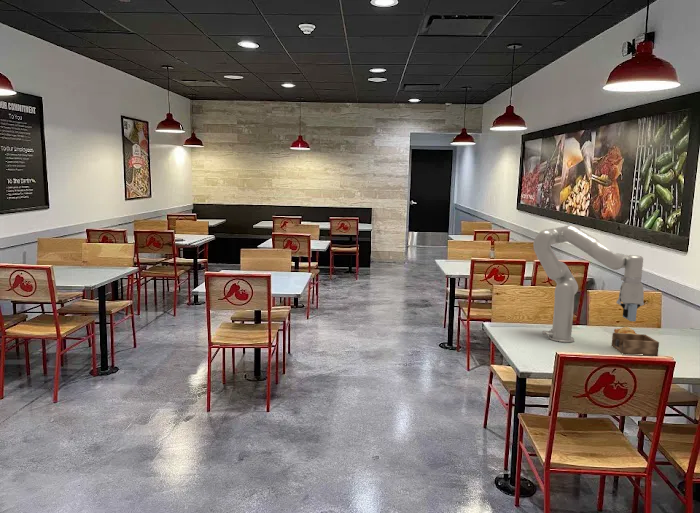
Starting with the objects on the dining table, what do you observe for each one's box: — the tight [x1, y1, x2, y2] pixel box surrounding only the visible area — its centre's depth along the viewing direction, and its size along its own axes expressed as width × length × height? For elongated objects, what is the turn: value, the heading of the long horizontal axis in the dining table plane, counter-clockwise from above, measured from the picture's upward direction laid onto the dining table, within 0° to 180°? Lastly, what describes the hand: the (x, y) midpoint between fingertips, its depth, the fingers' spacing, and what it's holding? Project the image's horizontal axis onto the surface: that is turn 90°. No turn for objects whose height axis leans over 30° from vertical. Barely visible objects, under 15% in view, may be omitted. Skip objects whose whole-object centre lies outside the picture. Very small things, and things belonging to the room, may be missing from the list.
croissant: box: [613, 326, 637, 334], centre depth 280 cm, size 21×10×8 cm, turn 5°
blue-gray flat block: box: [622, 304, 638, 322], centre depth 256 cm, size 3×9×8 cm, turn 175°
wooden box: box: [611, 332, 660, 357], centre depth 258 cm, size 16×14×7 cm
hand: (628, 316), depth 257 cm, fingers closed on blue-gray flat block, 2 cm apart
